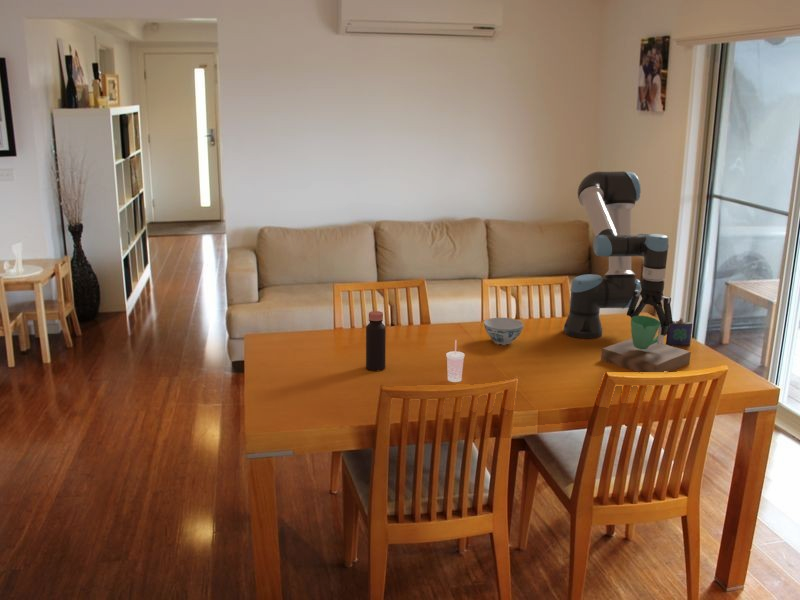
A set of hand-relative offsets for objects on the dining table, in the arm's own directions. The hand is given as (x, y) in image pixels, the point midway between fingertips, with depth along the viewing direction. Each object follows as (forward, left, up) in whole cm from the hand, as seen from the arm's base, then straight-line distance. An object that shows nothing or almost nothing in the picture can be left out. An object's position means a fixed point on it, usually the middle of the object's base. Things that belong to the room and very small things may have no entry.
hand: (647, 339), depth 272 cm
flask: (-3, +27, -9) cm, 28 cm away
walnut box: (0, 0, -9) cm, 9 cm away
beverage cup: (-30, -66, -9) cm, 73 cm away
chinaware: (-47, -24, -9) cm, 53 cm away
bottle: (-55, -80, -9) cm, 97 cm away
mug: (0, 0, -3) cm, 3 cm away
